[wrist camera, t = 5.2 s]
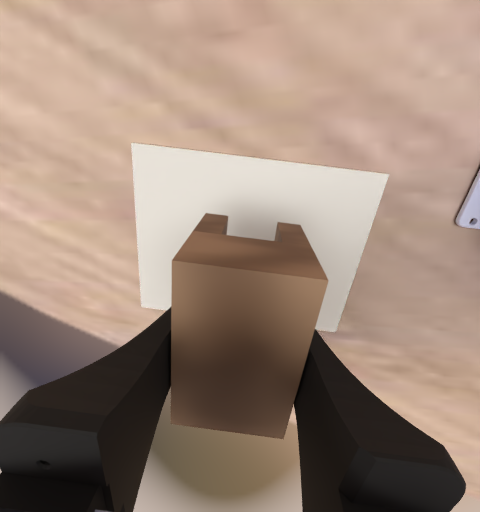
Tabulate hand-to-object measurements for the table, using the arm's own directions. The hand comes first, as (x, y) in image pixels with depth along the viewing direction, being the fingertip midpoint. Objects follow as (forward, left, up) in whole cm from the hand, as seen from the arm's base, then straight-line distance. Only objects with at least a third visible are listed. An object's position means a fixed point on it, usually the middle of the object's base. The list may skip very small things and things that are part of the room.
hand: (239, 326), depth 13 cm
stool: (0, -1, -3) cm, 3 cm away
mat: (0, 0, -10) cm, 10 cm away
